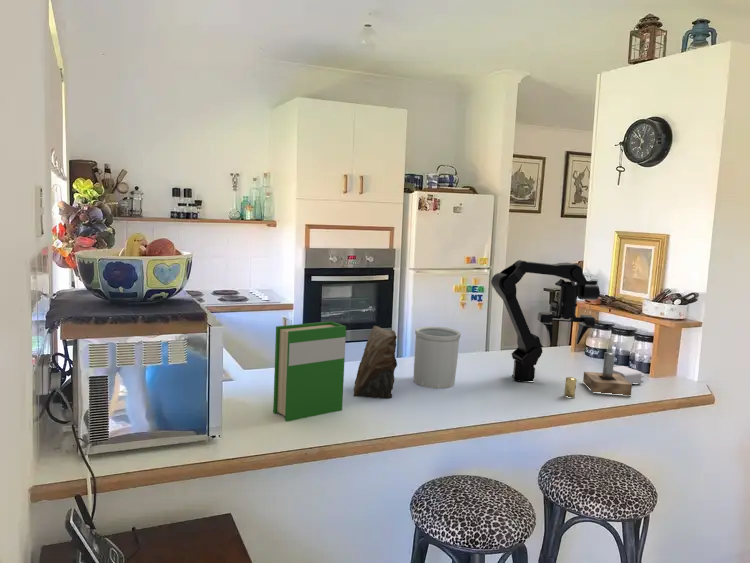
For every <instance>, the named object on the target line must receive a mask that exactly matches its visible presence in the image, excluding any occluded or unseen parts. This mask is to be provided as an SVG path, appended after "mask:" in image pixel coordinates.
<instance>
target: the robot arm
mask: <svg viewBox="0 0 750 563" xmlns="http://www.w3.org/2000/svg"><path fill="white" fill-rule="evenodd" d="M526 273H529V274H538V275H548V276H555V277H557V278H559V280H557V282H555V283H554V285H555V286H557V287H559V288H560V292H559V300H558V304H557V302H550V305H549V312H544V311H543V312H542V311H539V312H538V314H537V320H538V322H539V323H540V324H542V325H543V326H545V329H546V331H547V336H548V340H549V343H552V342H553V334H554V333H553V331H554V330H553V329H554V326H553V325H554V324H553V323H552V322H566V323H567V322H569V323H570V322H571V323H578V329H577V330H578V331H577V333H576V334H577V336H576V345H579V343H581V340H582V338H583V337H584V335H585V334H586V332H587V331H588V330H589V329H592V327H596V322H597V321H596V318H595V317H594V316H593V315H592V314H591V315H590V314H580V316H577V315H576V312H577V307H578V303H577V301H578V299H579V300H585V301H586V300H589V301H591V300H595V301H596V300H598V299H599V297H600V295H601V290H600V287H599V285H598V281H597V280H594V279H590V280H587V278H586V277H585V275H584V273H583V268H582V267H581V265H579V264H578V263H577V264H576V263H573V262H558V263H552V264H551V263H545V262H534V261H526V260H521V259H518V260H516V261H514V263H513V264H511V265H509V266H508V267H506V268H504V269H503V270H501V271H500V272H497V273H495V274H494V275H493V276H492V279H491V281H490V282H491V286H492V288H493V289H494V291H495V293H497V295H498V296H499V297H500V298H501V300H502V301H503V304H504V306H505V308H506V310H507V313H508V316H509V318H510V320H511V323H512V326H513V327H514V330H515V332H516V335H517V336H516V337H517V341H516V344H517V347H516V348H515V350H514V351H513V352H511V358H512V359H513V360H514V361H513V371H512V374H511V377H512V376H513V377H512V379H513V378H514V379H513V381H514V380H520V381H519V382H523V381H534V380H535V374H536V368H535V366H536V365H537V364H538V361H539V359H540V357H541V356H542V354H543V348H544V346H543V345H542V343H541V340H540V336H538V335H536V334H534V333H532V332H531V330H530V328H529V325H528V323H527V320H526V317H525V315H524V313H523V310H522V308H521V306H520V303H519V301H518V300H519V299H517V285H516V284H518V283H519V282H520V281H521V280H522V279H523V277H524V276H525V275H526ZM565 279H566V281H565ZM567 280H569V281H567ZM575 283H576V284H575ZM553 313H554V315H553Z"/></svg>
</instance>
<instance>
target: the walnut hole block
mask: <svg viewBox="0 0 750 563" xmlns="http://www.w3.org/2000/svg"><path fill="white" fill-rule="evenodd" d="M602 373H603V372H593V371H583V379H582V380H583V381H582V383H583V382H584V383H585V384H586V385H587V386H588V387H589V388H590V389H591V390H592V391H593V392H601V393H612V394H623V395H631V396H632V387H633V385H632V384H631V383H629V382H628V381H627V380H626V379H625V378H623V377H622V376H621V375H620V374H613V376H612V380H602Z"/></svg>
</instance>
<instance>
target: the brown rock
mask: <svg viewBox="0 0 750 563" xmlns="http://www.w3.org/2000/svg"><path fill="white" fill-rule="evenodd" d="M396 348H397V333H396V332H395V330H391V329H386V328H385V329H384V328H382V327H380V326H377V325H373V326H372V329H371V332H370V335H369V336H368V339H367V341H366V345H365V348H364V350H363V354H362V357H361V361H360V362H359V365H358V370H357V372H356V373H357V374H356V377H355V378H356V379H355V380H354V385H353V386H354V387H353V398H354V397H358V398H371V399H383V400H387V399H388V400H389V399H393V393H392V390H393V388H394V385H395V384H394V383H395V370H396V368H397V367H398V362H397V361H398V360H397V358H396Z"/></svg>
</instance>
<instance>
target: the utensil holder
mask: <svg viewBox="0 0 750 563" xmlns="http://www.w3.org/2000/svg"><path fill="white" fill-rule="evenodd" d="M414 333H415V334H414V335H415V345H414V347H415V348H414V362H413V382H414V383H415V384H417V385H419V386H421V387H425V388H430V389H449V388H451V387H453V386H455V382H456V375H457V374H456V373H457V366H458V358H459V357H458V356H459V355H458V354H459V345H460V339H461V332H460V331H459V330H456V329H453V328H450V327H443V326H435V325H433V326H430V325H429V326H428V325H427V326H419V327H416V328H415V332H414Z"/></svg>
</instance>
